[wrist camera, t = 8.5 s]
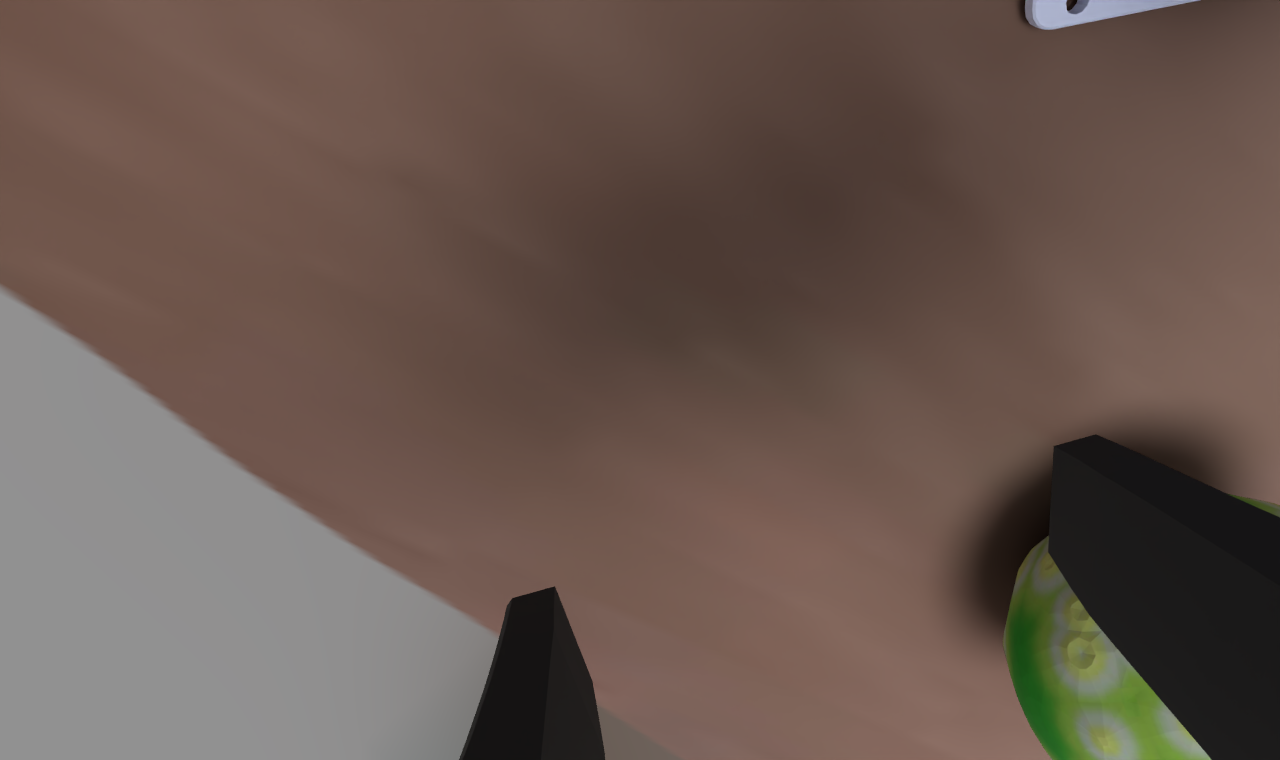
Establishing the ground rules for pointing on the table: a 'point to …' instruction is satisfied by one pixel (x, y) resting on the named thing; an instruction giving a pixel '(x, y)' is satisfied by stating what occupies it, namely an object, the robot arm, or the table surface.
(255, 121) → the table surface
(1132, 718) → the decorative ball
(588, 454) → the table surface
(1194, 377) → the table surface
